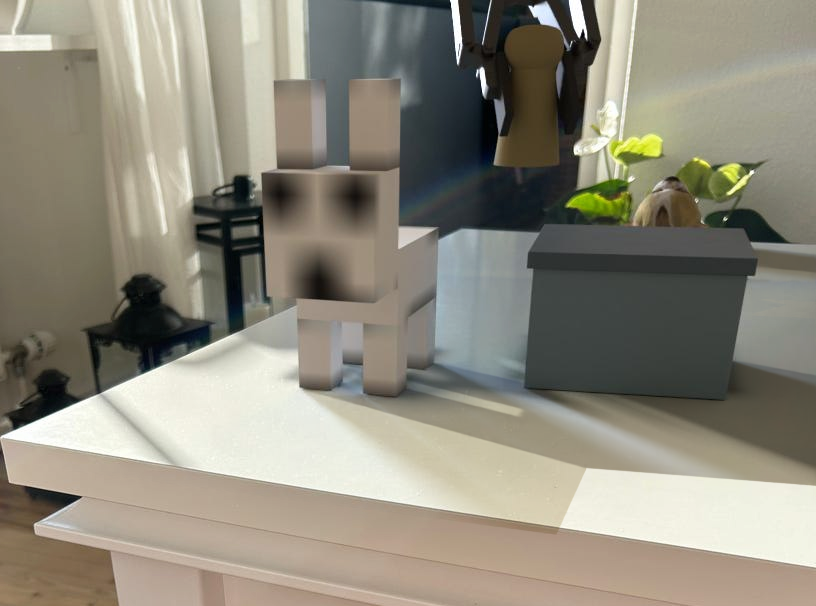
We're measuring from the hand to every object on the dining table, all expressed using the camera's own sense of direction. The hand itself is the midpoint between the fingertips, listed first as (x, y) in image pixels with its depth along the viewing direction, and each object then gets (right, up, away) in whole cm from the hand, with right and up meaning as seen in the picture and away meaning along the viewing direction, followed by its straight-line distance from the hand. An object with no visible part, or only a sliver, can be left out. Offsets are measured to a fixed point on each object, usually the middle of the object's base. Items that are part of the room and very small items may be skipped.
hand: (539, 123), depth 89 cm
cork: (0, -1, +5) cm, 5 cm away
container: (+4, -25, -11) cm, 28 cm away
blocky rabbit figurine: (-16, -26, -12) cm, 32 cm away
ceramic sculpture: (+21, 0, +31) cm, 38 cm away
